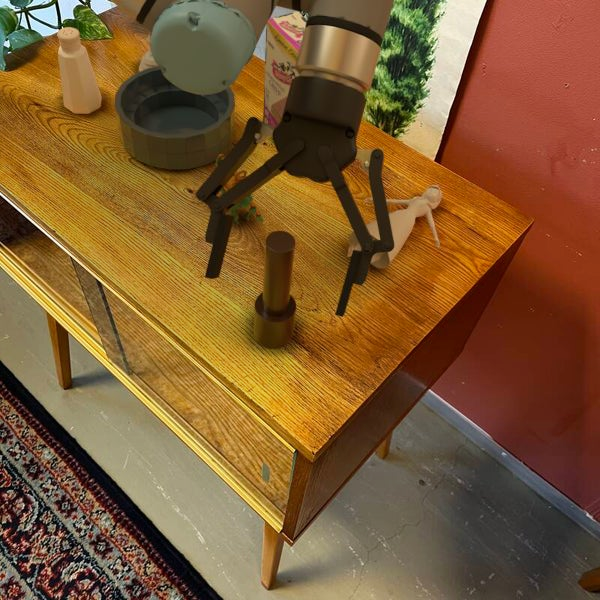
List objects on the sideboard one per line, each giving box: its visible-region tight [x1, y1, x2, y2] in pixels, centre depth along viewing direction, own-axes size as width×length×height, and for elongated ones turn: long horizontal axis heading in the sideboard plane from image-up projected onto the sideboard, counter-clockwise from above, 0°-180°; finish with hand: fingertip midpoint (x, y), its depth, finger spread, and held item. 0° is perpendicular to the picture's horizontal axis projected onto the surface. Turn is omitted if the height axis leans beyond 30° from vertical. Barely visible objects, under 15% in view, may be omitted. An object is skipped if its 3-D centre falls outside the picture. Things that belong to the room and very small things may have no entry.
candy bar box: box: [262, 11, 308, 127], centre depth 87 cm, size 11×5×16 cm, turn 32°
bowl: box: [113, 66, 236, 171], centre depth 90 cm, size 16×16×6 cm
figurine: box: [215, 154, 265, 225], centre depth 81 cm, size 3×12×8 cm, turn 31°
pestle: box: [253, 230, 297, 350], centre depth 68 cm, size 4×4×15 cm
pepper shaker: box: [56, 26, 103, 115], centre depth 91 cm, size 5×5×11 cm
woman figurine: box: [347, 184, 443, 270], centre depth 83 cm, size 12×4×18 cm
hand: (275, 295), depth 67 cm, fingers open, 13 cm apart
